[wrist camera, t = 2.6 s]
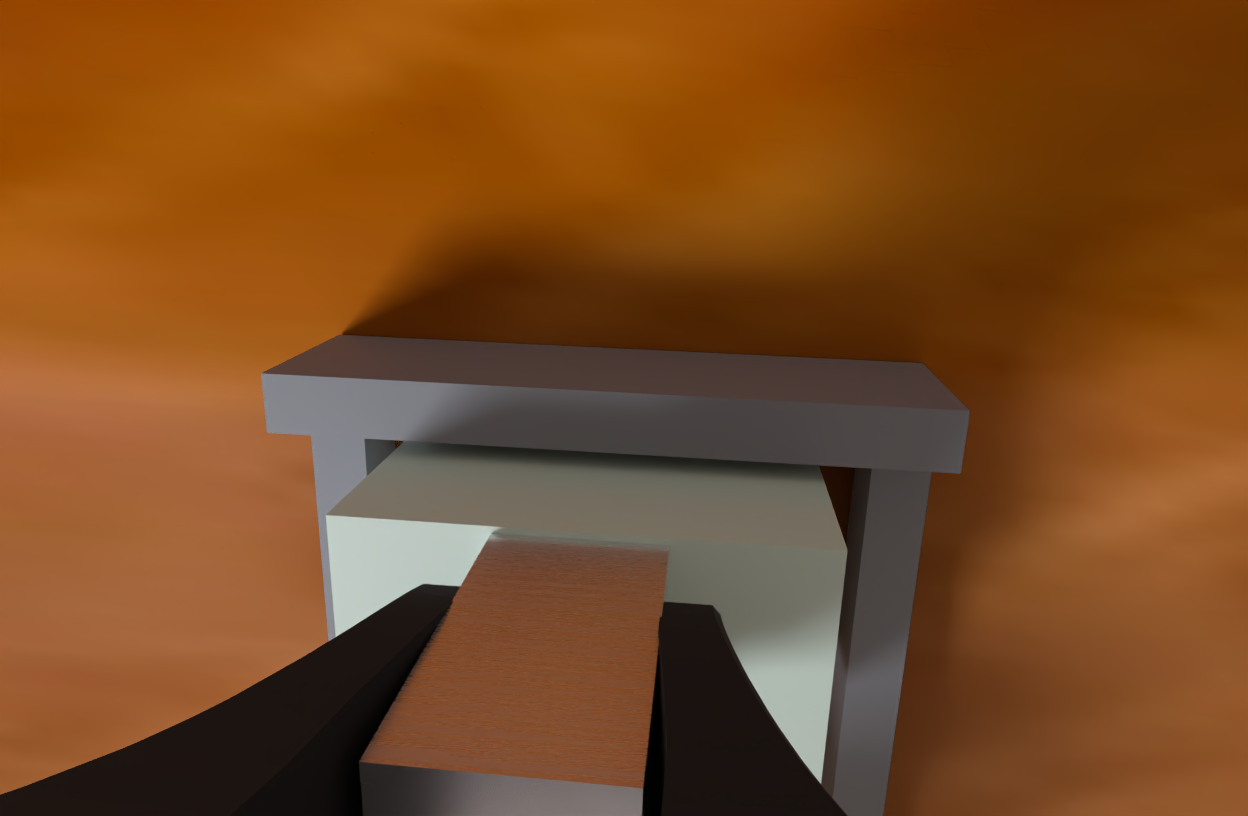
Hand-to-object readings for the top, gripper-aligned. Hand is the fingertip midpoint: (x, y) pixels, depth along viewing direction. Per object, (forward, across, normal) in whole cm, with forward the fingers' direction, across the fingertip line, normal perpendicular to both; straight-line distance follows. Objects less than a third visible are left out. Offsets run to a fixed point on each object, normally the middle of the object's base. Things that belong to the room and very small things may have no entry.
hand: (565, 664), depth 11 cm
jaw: (+6, 0, +1) cm, 6 cm away
